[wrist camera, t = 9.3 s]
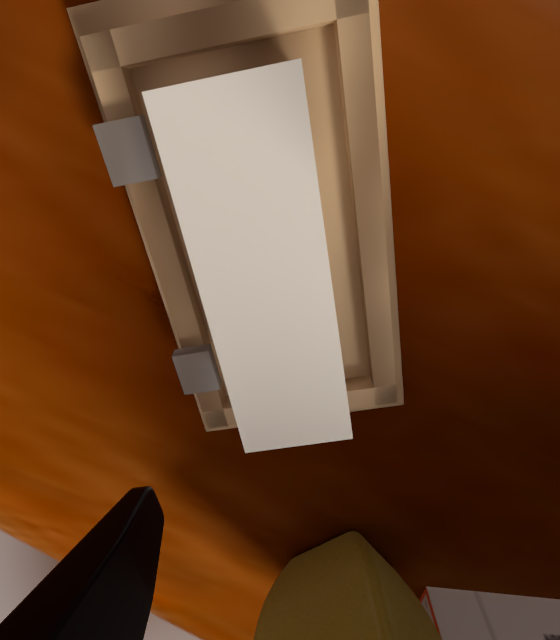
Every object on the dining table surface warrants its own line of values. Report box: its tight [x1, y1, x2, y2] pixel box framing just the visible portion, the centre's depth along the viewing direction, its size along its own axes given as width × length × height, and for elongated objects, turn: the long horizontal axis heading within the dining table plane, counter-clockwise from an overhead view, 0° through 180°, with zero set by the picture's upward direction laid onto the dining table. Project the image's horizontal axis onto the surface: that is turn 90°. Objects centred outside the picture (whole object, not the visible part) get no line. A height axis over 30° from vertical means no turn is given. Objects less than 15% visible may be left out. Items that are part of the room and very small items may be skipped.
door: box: [142, 58, 353, 453], centre depth 15 cm, size 4×12×5 cm, turn 10°
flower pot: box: [254, 531, 442, 640], centre depth 24 cm, size 9×9×9 cm
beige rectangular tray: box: [66, 0, 404, 432], centre depth 17 cm, size 10×18×3 cm, turn 10°
